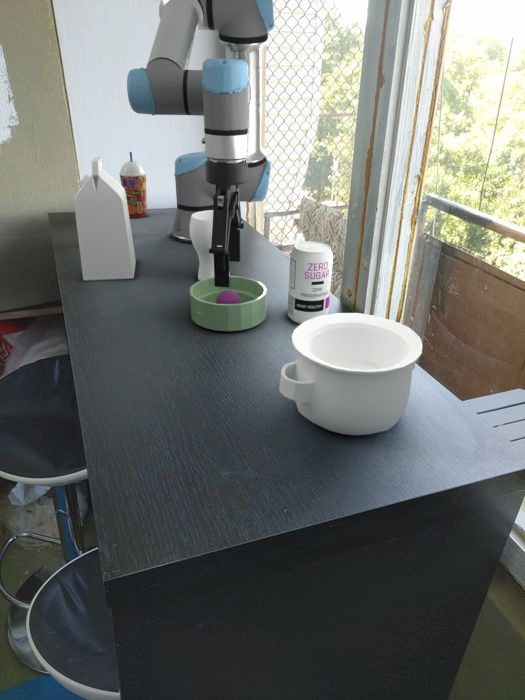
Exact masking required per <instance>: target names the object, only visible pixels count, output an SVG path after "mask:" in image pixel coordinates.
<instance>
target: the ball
mask: <svg viewBox="0 0 525 700" xmlns="http://www.w3.org/2000/svg"><path fill="white" fill-rule="evenodd" d="M240 303H241V300H240V297H239V296H238V294H237V293H235V292H234V291H230V290H226V291H223V292H221V293H220V294H219V295H218V297H217V299H216V304H240Z"/></svg>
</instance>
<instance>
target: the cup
mask: <svg viewBox="0 0 525 700" xmlns="http://www.w3.org/2000/svg"><path fill="white" fill-rule="evenodd" d="M212 226H213V210H208V211H200V212H196V213H194V214H192V216H191V220H190V226H189V229H190V237H191V240H192V243H191V244H192V246H193V248H194V250H195V251H196V253H197V256H198V257H197V258H198V263H199V265H198V271H197V279H198V281H201V280H203V279H206V278H211V277H214V254H212V253H209V249H211V243H212ZM217 247H222V246H217Z"/></svg>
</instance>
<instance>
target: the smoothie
mask: <svg viewBox="0 0 525 700" xmlns="http://www.w3.org/2000/svg"><path fill="white" fill-rule="evenodd" d="M119 179H120V184H121V185H122V186H123V188H124V189H125V193H126V199H127V205H128V212H129V218H135V219H137V218H143V217H145V216H146V213H147V212H148V203H147V172H146V170H145V168H144V167H143V166H142V164H141V163H139V162H137V161H134V160H133V152H132V151H129V161H127V162H125V163H123V165H122V166H121V169H120V172H119Z"/></svg>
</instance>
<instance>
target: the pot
mask: <svg viewBox="0 0 525 700" xmlns="http://www.w3.org/2000/svg"><path fill="white" fill-rule="evenodd" d="M291 344H292V347H293V349H294V350H295V352H296V353H297V355H296V360H294V361H290V362H287V363H285V364H284V365H283V366H282V367H281V373H280V380H279V387H278V391H279V392H280V394H281V395H282V396H283V397H285V398H287V399H289V400H292V401H295V405H296V408H297V411H298V413H300V414H301V416H303V417H304V418H305V419H307V420H308V421H310V422H311V423H313V424H315V425H317V426H319V427H321V428H323V429H325V430H328V431H330V432H333V433H337V434H341V435H347V436H348V435H349V436H364V435H365V436H366V435H373V434H374V435H375V434H377V433H382V432H386V431H388V430H390V429H391V428H393V427H394V426H395V425H396V424H397V423H398V422H399V421H400V419H402V416H403V414H404V413H405V410H406V409H407V406H408V405H409V401H410V400H409V399H410V394H411V387H412V378H413V371H414V370H415V369H416V362H417V361H418V360H419V358H421V356H422V354H423V346H424V345H423V342H422V339H421V337H420V336H419V334H417V333H416V332H415V331H414V330H413V329H412V328H411V327H409V326H407V325H405V324H403V323H400V322H398V321H395V320H392V319H388V318H385V317H381V316H378V315H375V314H374V315H373V314H366V313H361V312H335V313H334V312H333V313H328V315H321V316H317V317H315V318H312V319H310V320H307V321H305V322H303V323H302V324H299V325H298V326H297V327H295V329H293V332H292V334H291Z"/></svg>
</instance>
